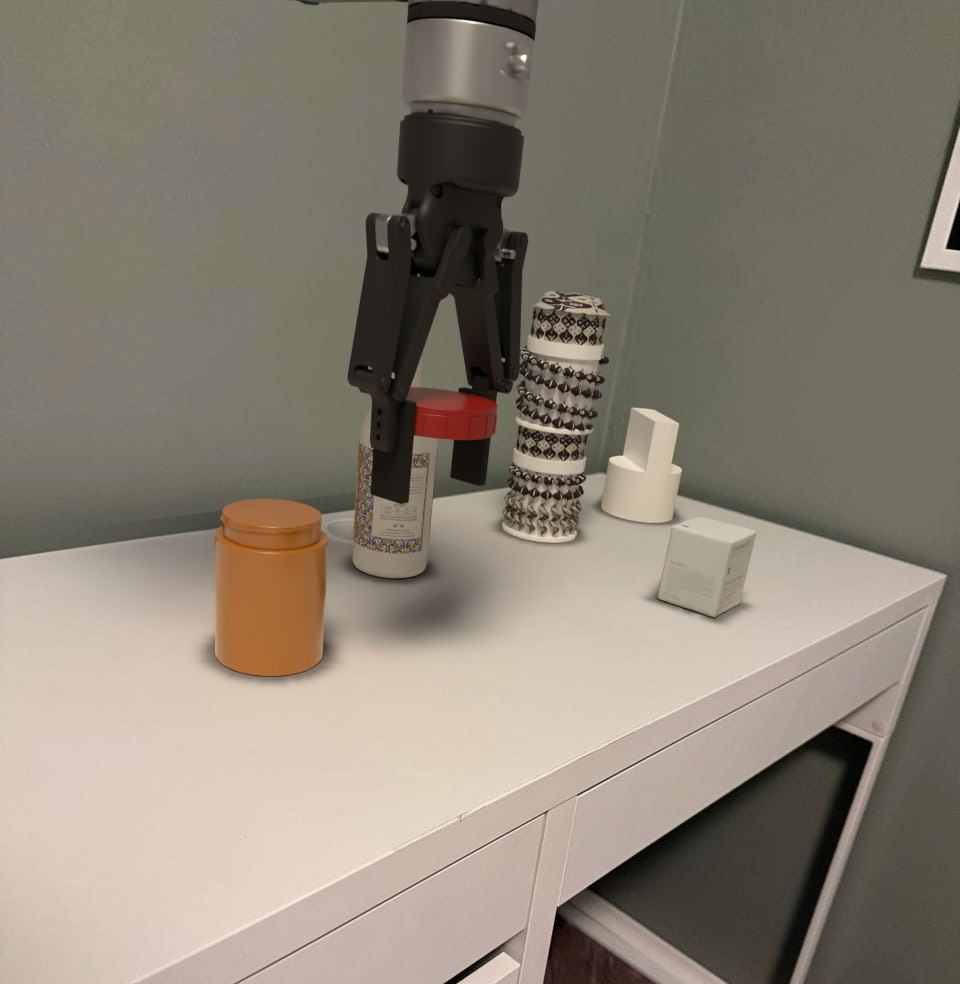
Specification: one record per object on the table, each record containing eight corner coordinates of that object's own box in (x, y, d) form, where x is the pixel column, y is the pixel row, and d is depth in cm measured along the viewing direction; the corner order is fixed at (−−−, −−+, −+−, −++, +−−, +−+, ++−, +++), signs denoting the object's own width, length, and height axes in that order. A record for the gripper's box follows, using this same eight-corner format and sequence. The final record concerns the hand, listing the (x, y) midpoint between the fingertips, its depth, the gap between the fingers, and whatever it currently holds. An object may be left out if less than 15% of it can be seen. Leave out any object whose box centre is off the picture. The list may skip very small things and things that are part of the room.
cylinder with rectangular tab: (591, 499, 118) (607, 405, 114) (657, 503, 120) (675, 411, 115) (613, 520, 110) (631, 419, 106) (683, 524, 112) (704, 426, 107)
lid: (514, 441, 61) (517, 412, 60) (399, 438, 58) (401, 408, 57) (467, 416, 67) (470, 389, 67) (362, 412, 64) (363, 384, 63)
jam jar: (192, 650, 66) (190, 506, 62) (273, 623, 72) (276, 491, 67) (265, 687, 62) (268, 536, 58) (344, 655, 68) (352, 517, 64)
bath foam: (370, 550, 90) (384, 337, 82) (436, 564, 89) (457, 349, 81) (339, 570, 84) (351, 342, 76) (409, 585, 83) (429, 355, 75)
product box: (714, 619, 83) (732, 542, 80) (654, 599, 87) (669, 524, 84) (740, 604, 88) (758, 530, 85) (683, 585, 91) (698, 514, 88)
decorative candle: (517, 513, 109) (547, 287, 99) (591, 531, 105) (629, 299, 95) (484, 530, 101) (512, 287, 91) (562, 549, 97) (601, 299, 88)
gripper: (396, 85, 45) (369, 528, 54) (602, 146, 61) (554, 482, 70) (290, 83, 49) (281, 498, 58) (510, 142, 65) (475, 460, 74)
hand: (430, 489), depth 64 cm, fingers closed on lid, 8 cm apart
